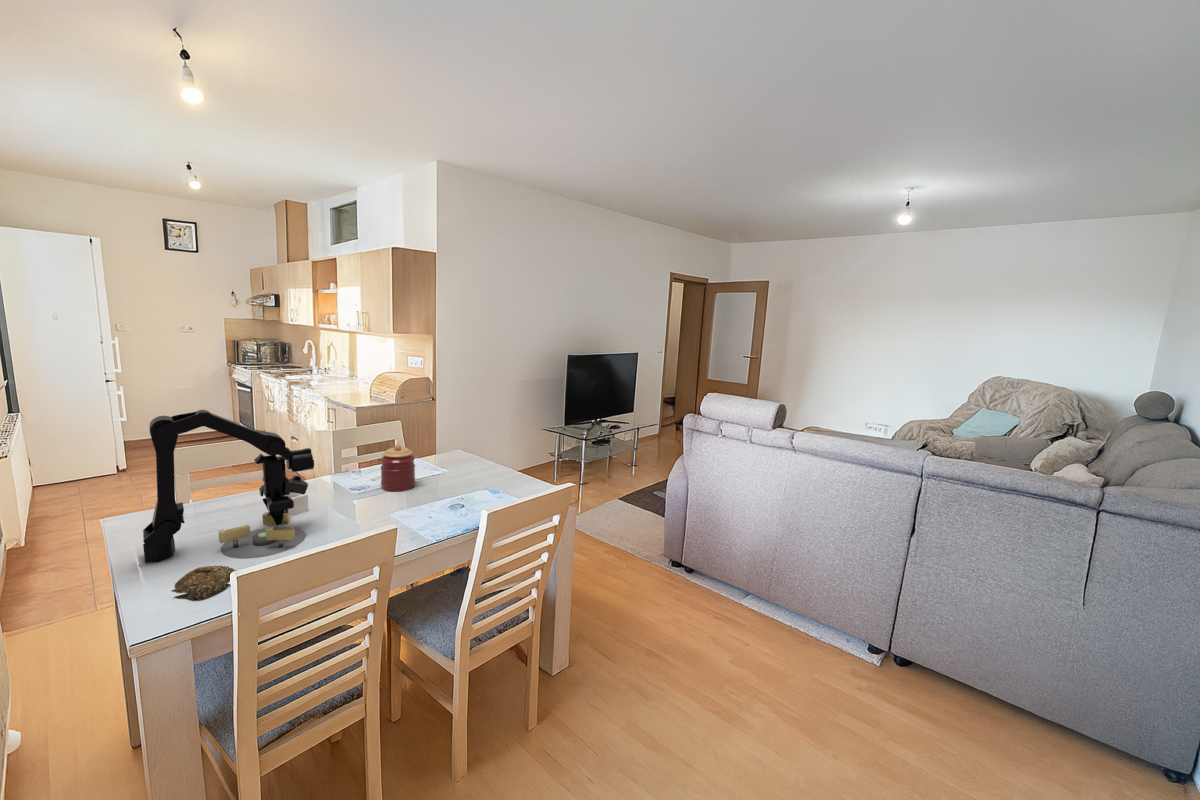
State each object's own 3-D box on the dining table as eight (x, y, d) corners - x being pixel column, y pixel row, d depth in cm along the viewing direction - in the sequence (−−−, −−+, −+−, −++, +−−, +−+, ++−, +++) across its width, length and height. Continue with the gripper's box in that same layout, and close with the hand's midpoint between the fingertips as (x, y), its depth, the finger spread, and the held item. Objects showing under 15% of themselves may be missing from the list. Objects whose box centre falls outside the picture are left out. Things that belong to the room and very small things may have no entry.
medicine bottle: (275, 515, 166) (273, 481, 164) (296, 508, 172) (295, 476, 170) (288, 520, 163) (286, 486, 161) (309, 513, 169) (307, 480, 167)
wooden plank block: (288, 532, 152) (287, 514, 151) (263, 532, 151) (262, 514, 150) (290, 529, 154) (290, 512, 153) (266, 530, 152) (265, 512, 152)
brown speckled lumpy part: (246, 576, 129) (245, 559, 128) (206, 603, 117) (204, 584, 116) (200, 572, 130) (199, 555, 129) (156, 598, 118) (154, 579, 117)
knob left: (251, 544, 143) (249, 525, 142) (221, 551, 138) (219, 532, 137) (249, 542, 144) (248, 523, 143) (219, 549, 139) (218, 530, 138)
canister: (383, 481, 204) (382, 440, 201) (416, 480, 208) (415, 439, 205) (379, 492, 191) (378, 449, 189) (414, 490, 195) (414, 448, 192)
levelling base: (285, 562, 137) (284, 550, 136) (203, 563, 134) (202, 550, 133) (318, 529, 157) (317, 519, 157) (247, 530, 154) (246, 519, 154)
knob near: (292, 548, 142) (291, 528, 141) (266, 548, 141) (265, 529, 140) (295, 545, 144) (294, 526, 143) (269, 545, 143) (268, 526, 142)
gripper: (311, 478, 148) (314, 526, 150) (298, 462, 161) (300, 507, 164) (267, 485, 140) (271, 536, 143) (257, 468, 154) (260, 515, 157)
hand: (277, 522), depth 152 cm, fingers closed on wooden plank block, 3 cm apart
